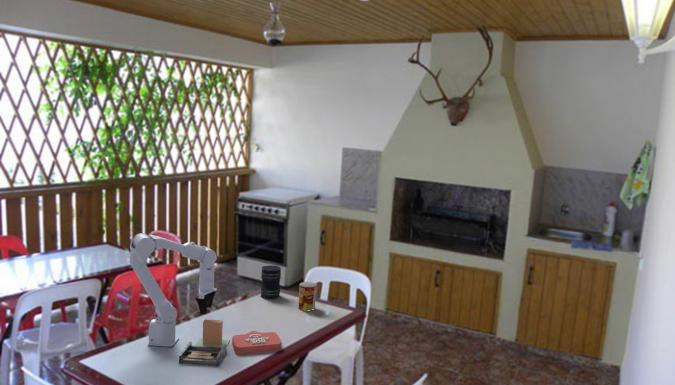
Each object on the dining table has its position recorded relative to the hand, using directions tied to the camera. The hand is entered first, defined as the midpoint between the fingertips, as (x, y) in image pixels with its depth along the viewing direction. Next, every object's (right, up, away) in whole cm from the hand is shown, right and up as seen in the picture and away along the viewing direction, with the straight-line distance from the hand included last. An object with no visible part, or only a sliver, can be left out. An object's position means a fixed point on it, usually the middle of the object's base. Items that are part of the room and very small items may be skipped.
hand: (205, 310), depth 202 cm
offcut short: (+3, -13, -20) cm, 24 cm away
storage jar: (+19, -6, +55) cm, 58 cm away
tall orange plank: (+4, -11, -7) cm, 14 cm away
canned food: (+38, -8, +39) cm, 55 cm away
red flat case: (+21, -13, -5) cm, 25 cm away
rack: (+4, -13, -19) cm, 23 cm away
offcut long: (+4, -13, -22) cm, 26 cm away
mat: (+4, -11, -7) cm, 14 cm away
